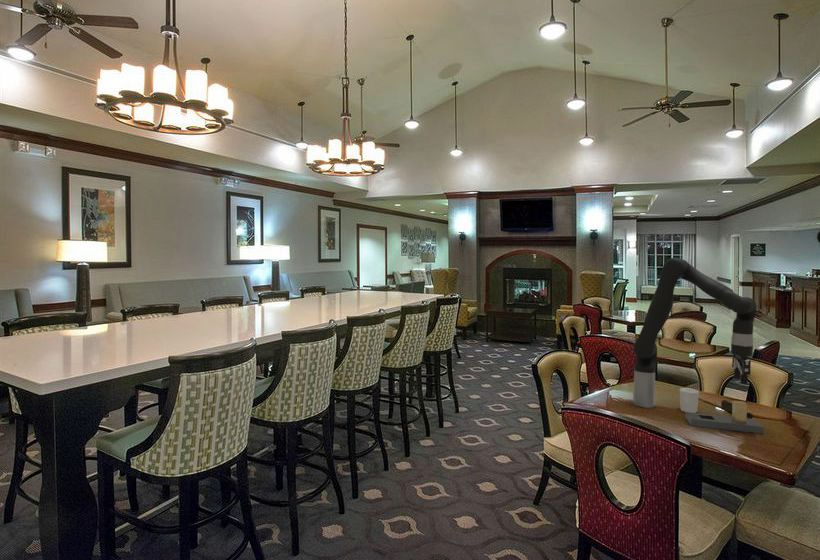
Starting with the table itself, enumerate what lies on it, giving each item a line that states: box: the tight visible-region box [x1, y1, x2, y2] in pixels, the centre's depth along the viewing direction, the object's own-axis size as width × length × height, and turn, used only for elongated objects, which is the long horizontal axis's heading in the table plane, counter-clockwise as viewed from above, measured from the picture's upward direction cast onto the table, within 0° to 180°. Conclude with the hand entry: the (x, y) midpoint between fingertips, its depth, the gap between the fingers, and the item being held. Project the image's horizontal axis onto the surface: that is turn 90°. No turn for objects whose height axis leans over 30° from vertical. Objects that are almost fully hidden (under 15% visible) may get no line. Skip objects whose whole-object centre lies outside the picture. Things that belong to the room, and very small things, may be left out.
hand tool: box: [720, 399, 754, 419], centre depth 209 cm, size 19×4×5 cm, turn 174°
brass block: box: [731, 400, 748, 423], centre depth 192 cm, size 4×4×8 cm
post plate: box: [685, 412, 764, 435], centre depth 194 cm, size 26×10×3 cm, turn 70°
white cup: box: [679, 387, 700, 413], centre depth 214 cm, size 8×8×10 cm
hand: (740, 381), depth 192 cm, fingers open, 8 cm apart
